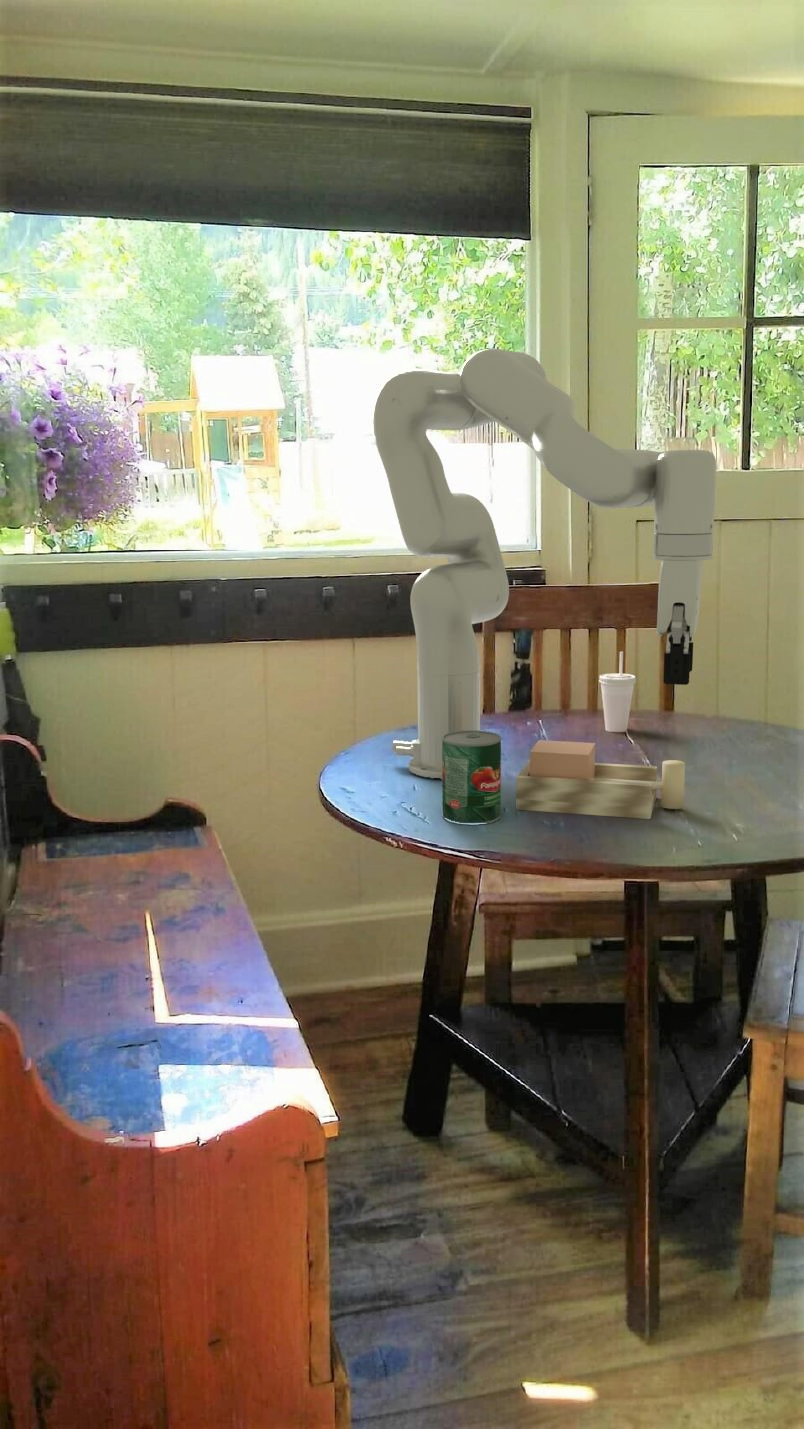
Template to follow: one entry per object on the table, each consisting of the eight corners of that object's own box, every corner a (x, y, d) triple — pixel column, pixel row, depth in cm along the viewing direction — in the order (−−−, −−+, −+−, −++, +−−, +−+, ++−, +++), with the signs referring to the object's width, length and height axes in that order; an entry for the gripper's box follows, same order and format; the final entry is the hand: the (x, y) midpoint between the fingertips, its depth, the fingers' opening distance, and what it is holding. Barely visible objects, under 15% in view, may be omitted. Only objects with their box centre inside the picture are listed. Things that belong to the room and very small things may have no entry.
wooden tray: (515, 809, 157) (516, 777, 156) (529, 788, 167) (530, 758, 166) (650, 819, 152) (651, 786, 151) (656, 797, 162) (657, 766, 161)
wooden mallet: (529, 803, 158) (529, 751, 156) (537, 789, 165) (538, 740, 163) (682, 813, 152) (684, 760, 151) (684, 799, 159) (686, 748, 157)
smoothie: (637, 733, 200) (640, 654, 197) (600, 734, 201) (602, 654, 198) (630, 725, 207) (633, 648, 204) (595, 726, 207) (597, 649, 204)
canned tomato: (498, 826, 149) (498, 744, 147) (438, 824, 151) (437, 742, 148) (503, 809, 157) (503, 731, 155) (446, 807, 158) (445, 729, 156)
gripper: (657, 543, 158) (654, 666, 161) (648, 552, 142) (644, 688, 145) (714, 543, 156) (709, 667, 159) (711, 552, 140) (705, 690, 143)
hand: (678, 677), depth 152 cm, fingers open, 9 cm apart
